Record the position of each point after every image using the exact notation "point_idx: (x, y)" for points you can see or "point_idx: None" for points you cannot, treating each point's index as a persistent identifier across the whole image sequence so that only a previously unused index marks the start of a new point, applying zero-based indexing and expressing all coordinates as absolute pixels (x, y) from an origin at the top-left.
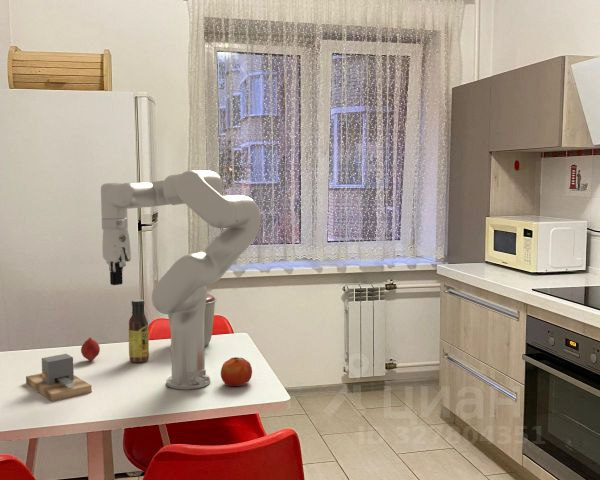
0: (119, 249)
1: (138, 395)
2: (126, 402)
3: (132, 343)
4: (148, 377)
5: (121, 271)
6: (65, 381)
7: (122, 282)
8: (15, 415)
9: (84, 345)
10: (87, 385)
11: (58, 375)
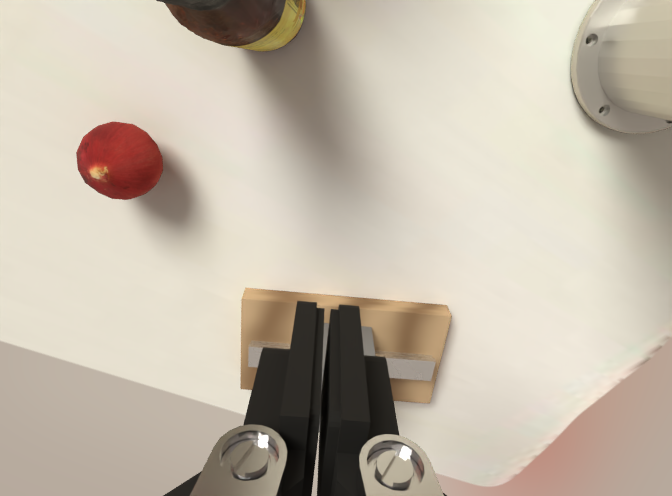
0: None
1: (581, 236)
2: (592, 285)
3: (266, 46)
4: (475, 113)
5: (396, 445)
6: (407, 372)
7: (358, 310)
8: (440, 459)
9: (121, 197)
10: (443, 323)
11: None
